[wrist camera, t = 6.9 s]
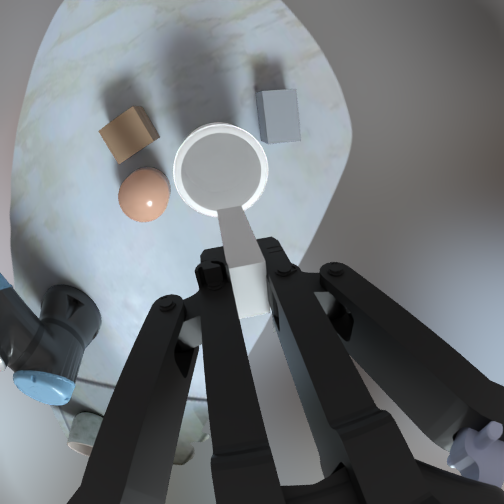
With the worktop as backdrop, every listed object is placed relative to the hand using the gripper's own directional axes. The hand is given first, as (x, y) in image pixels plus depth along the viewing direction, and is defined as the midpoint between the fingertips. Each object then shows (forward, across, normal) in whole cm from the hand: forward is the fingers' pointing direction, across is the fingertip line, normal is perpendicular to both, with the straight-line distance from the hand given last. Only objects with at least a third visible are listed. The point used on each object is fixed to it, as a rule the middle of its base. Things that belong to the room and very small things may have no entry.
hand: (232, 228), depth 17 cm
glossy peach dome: (+29, -12, -4) cm, 31 cm away
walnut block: (+29, -12, +6) cm, 31 cm away
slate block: (+29, +10, +5) cm, 31 cm away
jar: (+29, 0, 0) cm, 29 cm away
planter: (+29, -62, -76) cm, 102 cm away
